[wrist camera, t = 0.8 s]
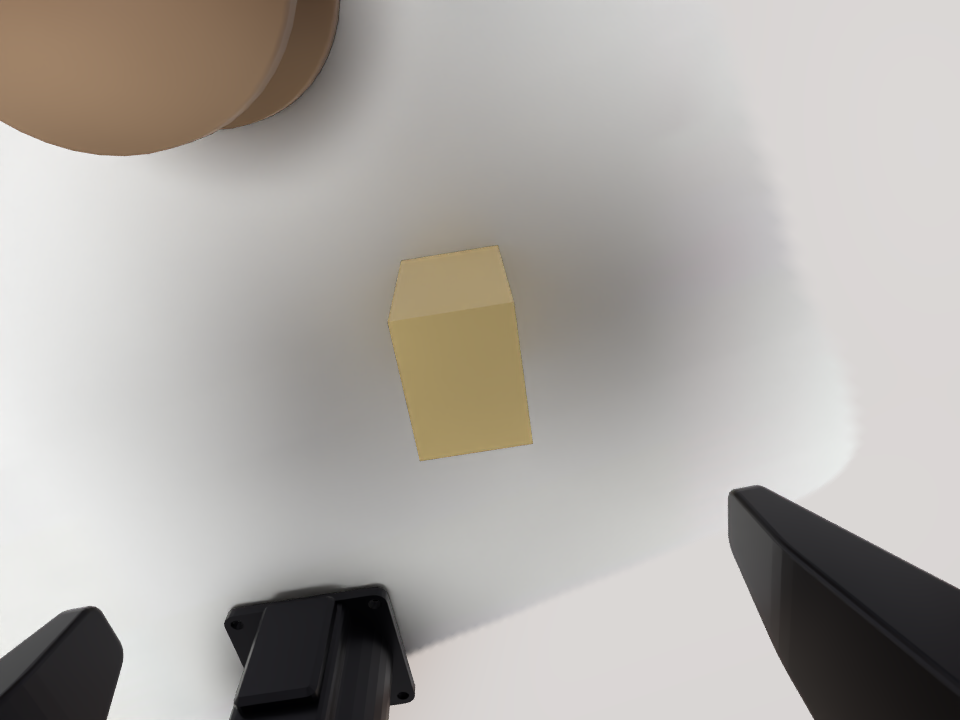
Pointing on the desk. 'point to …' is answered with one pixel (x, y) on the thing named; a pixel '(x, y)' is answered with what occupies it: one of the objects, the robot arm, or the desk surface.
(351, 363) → the desk surface
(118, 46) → the bobbin
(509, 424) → the tan tab
